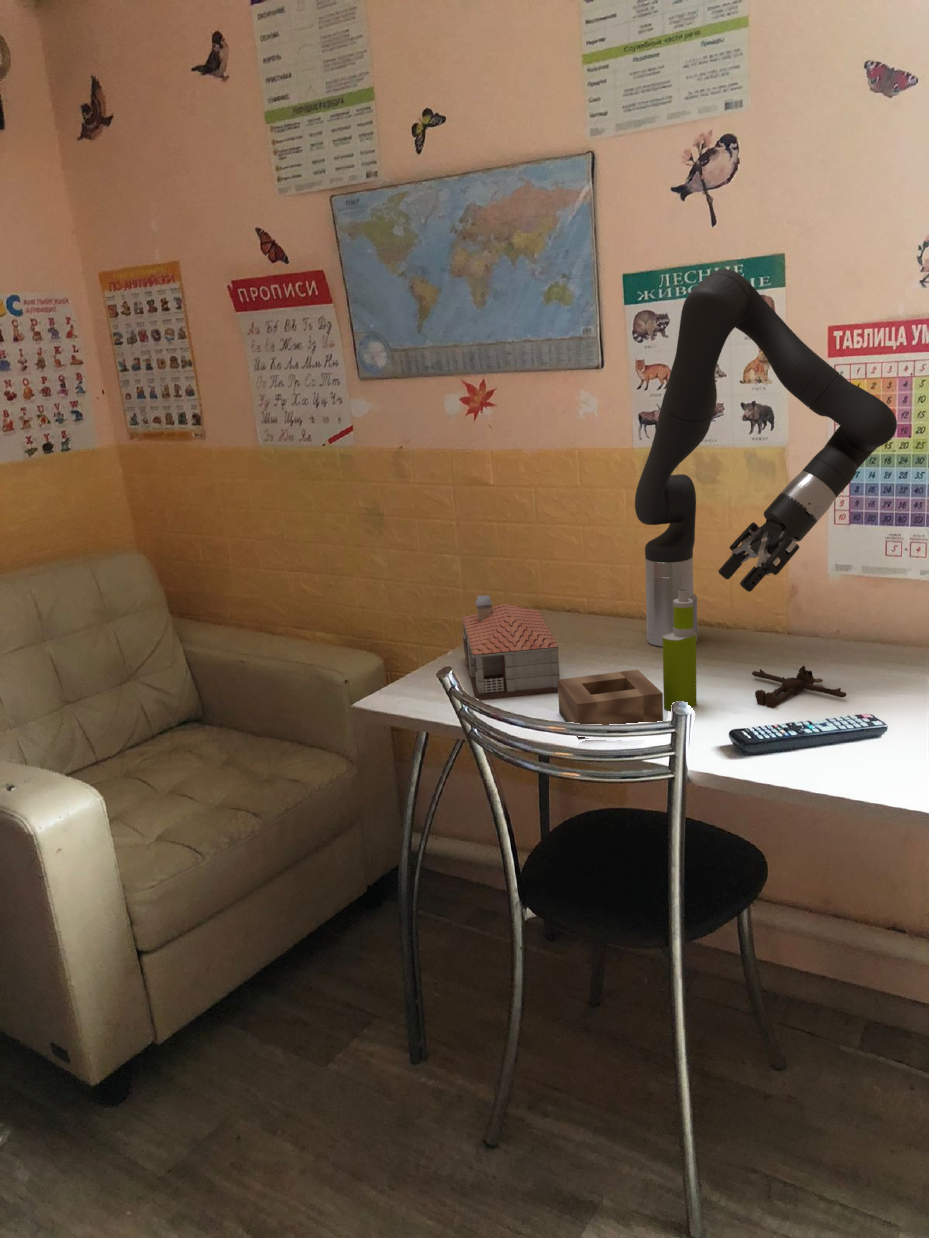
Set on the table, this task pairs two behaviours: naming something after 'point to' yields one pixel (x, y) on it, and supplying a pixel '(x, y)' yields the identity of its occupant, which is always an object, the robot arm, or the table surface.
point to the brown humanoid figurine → (791, 687)
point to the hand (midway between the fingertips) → (733, 582)
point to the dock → (610, 699)
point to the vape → (680, 655)
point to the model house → (509, 652)
